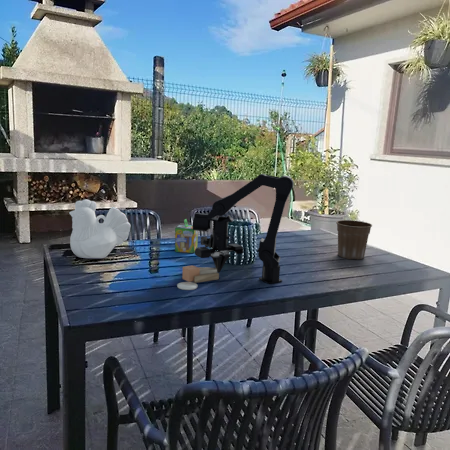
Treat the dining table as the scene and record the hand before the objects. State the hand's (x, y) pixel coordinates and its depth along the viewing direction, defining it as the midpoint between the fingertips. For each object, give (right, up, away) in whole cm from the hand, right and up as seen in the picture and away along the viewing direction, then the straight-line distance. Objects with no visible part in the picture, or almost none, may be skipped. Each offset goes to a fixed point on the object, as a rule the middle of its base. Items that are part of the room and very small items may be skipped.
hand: (218, 272), depth 164 cm
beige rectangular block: (-5, -1, -3) cm, 6 cm away
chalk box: (-16, +6, +36) cm, 40 cm away
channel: (-6, -2, -4) cm, 8 cm away
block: (-10, -2, -6) cm, 12 cm away
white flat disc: (-11, -3, -15) cm, 19 cm away
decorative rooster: (-50, +4, +17) cm, 53 cm away
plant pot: (+62, +3, +39) cm, 73 cm away
